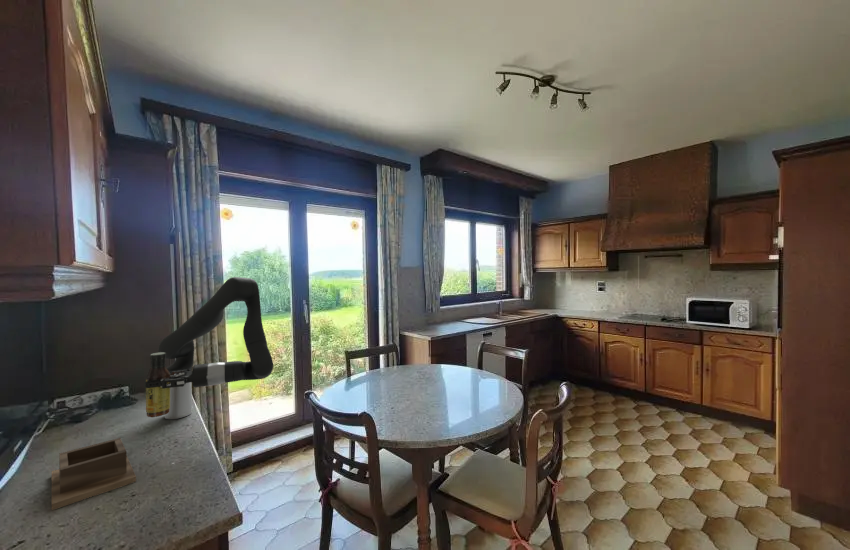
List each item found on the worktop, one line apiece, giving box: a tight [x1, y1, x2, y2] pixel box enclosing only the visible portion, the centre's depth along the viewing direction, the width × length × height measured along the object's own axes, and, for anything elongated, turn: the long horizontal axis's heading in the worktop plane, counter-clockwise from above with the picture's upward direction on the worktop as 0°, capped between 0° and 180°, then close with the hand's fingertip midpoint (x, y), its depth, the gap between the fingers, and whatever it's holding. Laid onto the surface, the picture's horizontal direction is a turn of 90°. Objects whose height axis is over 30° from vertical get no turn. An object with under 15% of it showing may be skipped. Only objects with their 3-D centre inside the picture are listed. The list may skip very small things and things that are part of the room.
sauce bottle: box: [145, 352, 170, 418], centre depth 113 cm, size 6×6×20 cm
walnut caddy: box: [51, 437, 137, 511], centre depth 98 cm, size 22×16×8 cm
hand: (148, 381), depth 111 cm, fingers closed on sauce bottle, 6 cm apart
